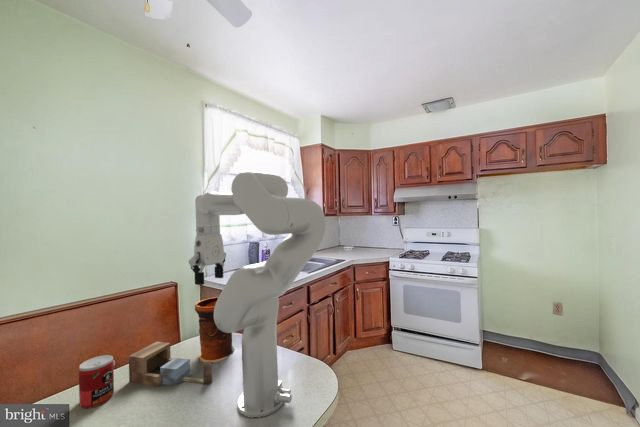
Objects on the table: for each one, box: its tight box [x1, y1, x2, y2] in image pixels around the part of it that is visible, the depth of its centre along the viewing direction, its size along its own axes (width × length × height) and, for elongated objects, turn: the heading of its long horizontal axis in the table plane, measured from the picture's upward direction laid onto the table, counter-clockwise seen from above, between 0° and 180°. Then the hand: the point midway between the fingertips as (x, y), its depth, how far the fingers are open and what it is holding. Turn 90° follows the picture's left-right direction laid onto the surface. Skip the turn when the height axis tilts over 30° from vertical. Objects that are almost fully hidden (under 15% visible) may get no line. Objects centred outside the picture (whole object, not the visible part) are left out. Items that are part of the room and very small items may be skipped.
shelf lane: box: [128, 341, 175, 388], centre depth 88 cm, size 12×10×8 cm
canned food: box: [78, 354, 115, 409], centre depth 77 cm, size 8×8×11 cm
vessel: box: [194, 296, 236, 363], centre depth 102 cm, size 14×14×20 cm
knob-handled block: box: [159, 357, 213, 387], centre depth 84 cm, size 16×6×6 cm, turn 76°
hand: (209, 281), depth 90 cm, fingers open, 9 cm apart
